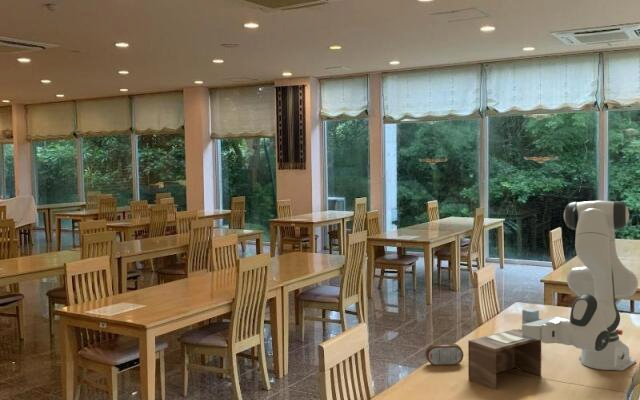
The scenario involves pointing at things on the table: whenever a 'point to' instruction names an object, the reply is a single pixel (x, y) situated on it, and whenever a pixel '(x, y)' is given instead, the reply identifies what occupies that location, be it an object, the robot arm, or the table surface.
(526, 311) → the blue block
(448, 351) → the oval desk clock
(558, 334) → the robot arm
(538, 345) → the small brown desk
